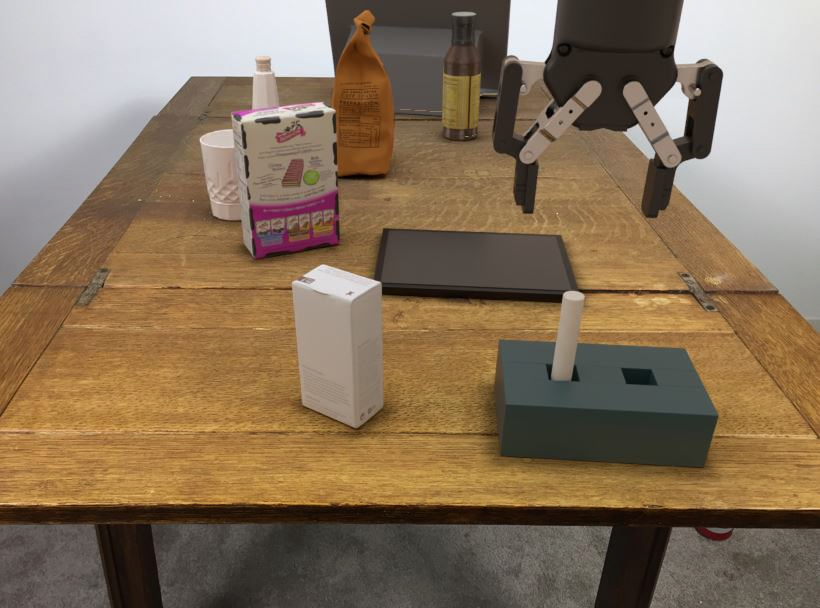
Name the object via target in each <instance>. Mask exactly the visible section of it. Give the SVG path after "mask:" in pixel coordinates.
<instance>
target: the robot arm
mask: <svg viewBox="0 0 820 608" xmlns="http://www.w3.org/2000/svg"><path fill="white" fill-rule="evenodd" d="M684 2H685V0H557V3H556V11H555V19H554V22H555V23H554V29H553V37H552V45H551V49H550V52H549V54H548V56H547V57H546V59H545V60H544V61H532V60H522V59H521V60H520V59H519V57H518V56H516V55H513V54H509V55H507V57H505V58H504V59H503V61H502V66H501V73H500V80H499V87H498V94H497V98H496V102H495V109H494V115H493V123H492V130H491V139H492V140H491V141H492V147H493V150H494V152H496V153H497V154H500V155H504V154H505V155H507V156H510V157H512V158H513V159H514V160H515V165H514V166H515V167H514V179H513V187H512V193H513V199H514V202H515V205H516V206H517V207H518V206H519V207H521V212H522V215H534V212H535V203H536V193H537V187H538V178H539V177H538V175H539V167H540V164H539V161H538V158H539V157H540V156H541V155H542V154H543V153H544V152H545V151H546V150H547V149H548V148H549V146H550V145H551V144H552V143H553V142H556V141H557V140H558V139H560V138H561V136H562V135H563V134H564V133H565V132H566V131H567V130H568V129H569V128H570V127H571V126H572V127H574V128H576V129H578V131H579V132H592V131H596V130H601V129H605V130H609V131H612V132H616V133H617V132H618V133H620V132H621V133H622V132H624V133H627V132H628V130H630V129H631V128H634V127H636V126H637V125H638V126H639V128H640V130H641V131H642V133H643V134H644V136H645V137H646V140H647V141H648V142H649V144H650V146H651V148H652V149H653V151H654V157H653V158H649V161H648V166H647V171H646V177H645V182H644V187H643V193H642V199H641V202H640V203H641V204H640V210H641V212H642V214H643V215H644V217H645V218H646V219H657V218H658V217H659V212H660V211H666V210H667V207H669V205H670V202H671V201H670V200H671V196H672V191H673V188H674V187H673V186H674V181H675V178H676V177H675V176H676V171H677V169H678V167H679V166H680V165H681V164H682V163H684V162H686V161H690V160H694V159H696V160H704V159H706V158H708V157H709V156H710V154H711V152H712V147H713V141H714V137H715V136H714V135H715V130H716V129H715V128H716V123H717V117H718V111H719V105H720V98H721V92H722V86H723V79H724V71H723V69H722V68H720V67H719V65H717V64H716V63H714V61H712V60H710V59H708V58H701V59H699V60H697V61H696V62H694V63H676V59H675V49H676V44H677V39H678V34H679V29H680V23H681V18H682V14H683V13H682V12H683V9H684V8H683V7H684ZM540 80H542V81H543V83H544V85H545V87H546V88H547V90H548V92H549V94H550V95H551V97H552V98H551V100H550V101H549V102H548V103H547V105H546V106H545V107H544V108H543V109H542V110H541V111H540V113H538V115H537V116H536V119H535V120H534V122H533V123H532V124H531V125H530V126H529V128H527V130H526V131H525V132H524V133H523V134H522V135H521V134H519V133H516V132H514V131H515V126H516V119H517V112H518V106H519V99H520V97H525V96H527V95H528V94H530V92H531V90H532V88H533V85H534V84H535V83H537V81H540ZM676 83H679V84H680V87H681V88H680V89H681V92H682V94H683V95H684V96H685V97H686V98H687V99H688V103H687V110H686V118H685V123H684V130H683V136H679V137H676V138H674V139H672V137H671V134H670V133H669V131H668V129H667V127H666V126H665V124H664V122H663V120H662V118H661V117H660V115H659V113H658V111H657V110H656V108H655V107H656V106H657V105H658V104H659V102H661V101H662V99H663V98H664V97H665V96H666V95H667V94H668V93H669V92H670V91H671V89H673V88H674V86H675V85H676Z"/></svg>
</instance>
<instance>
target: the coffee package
mask: <svg viewBox="0 0 820 608" xmlns="http://www.w3.org/2000/svg"><path fill="white" fill-rule="evenodd" d="M374 21H375V17H374V16H373V15H372V14H371V13H370V11H369V10H366V11H364V12H363V13H362V14H360V15H359V16H357V17H356V18H354V23H355V25H356V27H357V30H356V32H355V34H354V35H353V37H352V38H351V40H350V42H349V43H348V45H347V46H346V48H345V49H344V51H343V53H342V55H341V57H340V60H339V63H338V65H337V70H336V76H335V75H334V82H333V87H332V92H331V101H330V107H331V108H332V109H334V110H336V135H337V164H338V178H341V177H346V176H348V177H349V176H358V175H365V176H366V175H367V176H377V175H382V174H384V175H385V174H387V173H388V172H389V170H390V166H391V161H392V157H393V150H394V141H395V125H396V124H395V123H396V122H395V121H396V119H395V118H396V117H395V113H394V106H393V97H392V89H391V83H390V80H389V77H388V74H387V71H386V69H385V67H384V65H383V63H382V61H381V59H380V58H379V56H378V55H377V53H376V52H375V50H374V49H373V48H372V44H371V41H370V37H369V34H370V33H371V32H372V29H371V25H372V24H373V23H374Z"/></svg>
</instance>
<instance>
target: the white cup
mask: <svg viewBox="0 0 820 608" xmlns="http://www.w3.org/2000/svg"><path fill="white" fill-rule="evenodd" d="M199 145H200V151H201V158H202V166H203V172H204V178H205V184H206V188H207V195H208V196H209V203H210V209H211V213H212V216H214V217H215V218H217V219H219V220H224V221H242V220H241V210H240V199H239V190H238V179H237V168H236V158H235V148H234V138H233V128H231V129H220V130H214V131H210V132H208V133H205V134H203V135H201V137H200V138H199Z"/></svg>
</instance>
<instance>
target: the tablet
mask: <svg viewBox="0 0 820 608" xmlns="http://www.w3.org/2000/svg"><path fill="white" fill-rule="evenodd" d="M373 280H375V281H378V282H381V284H382V296H383V295H384V296H385V295H386V296H387V295H388V296H409V297H432V298H452V299H453V298H454V299H475V300H477V299H479V300H495V301H496V300H497V301H498V300H499V301H522V302H543V303H545V302H546V303H562V300H563V294H564V293H565V292H567V291H577V292H580V290H579V287H578V283H577V281H576V278H575V274H574V271H573V268H572V265H571V262H570V259H569V254H568V252H567V248H566V245H565V242H564V239H563V236H562V234H547V233H546V234H545V233H524V232H523V233H521V232H520V233H519V232H495V231H494V232H493V231H469V230H468V231H467V230H444V229H443V230H441V229H417V228H415V229H414V228H390V227H389V228H388V227H383V228H382V232H381V238H380V244H379V249H378V254H377V260H376V265H375V271H374V277H373Z"/></svg>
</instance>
